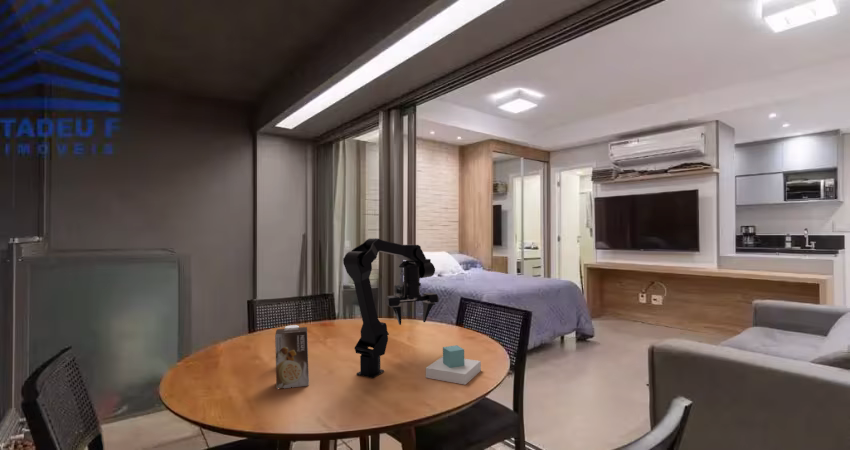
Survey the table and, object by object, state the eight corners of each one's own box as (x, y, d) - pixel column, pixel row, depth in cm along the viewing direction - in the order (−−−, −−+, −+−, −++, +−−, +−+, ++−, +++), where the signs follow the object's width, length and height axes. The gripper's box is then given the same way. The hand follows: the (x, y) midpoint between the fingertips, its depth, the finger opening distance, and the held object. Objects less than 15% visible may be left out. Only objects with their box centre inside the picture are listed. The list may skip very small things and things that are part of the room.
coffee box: (309, 378, 122) (308, 326, 122) (308, 386, 116) (308, 331, 116) (277, 382, 119) (276, 328, 120) (275, 390, 113) (274, 333, 113)
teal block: (449, 368, 120) (449, 351, 120) (443, 363, 125) (442, 347, 125) (464, 365, 122) (464, 349, 122) (457, 360, 127) (456, 345, 127)
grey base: (465, 384, 115) (465, 374, 115) (425, 377, 121) (425, 367, 121) (480, 370, 126) (480, 361, 126) (444, 364, 132) (443, 355, 132)
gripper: (427, 276, 152) (427, 316, 152) (380, 278, 145) (380, 321, 145) (438, 279, 142) (439, 322, 142) (388, 282, 135) (389, 328, 135)
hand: (412, 323), depth 141 cm, fingers open, 9 cm apart
